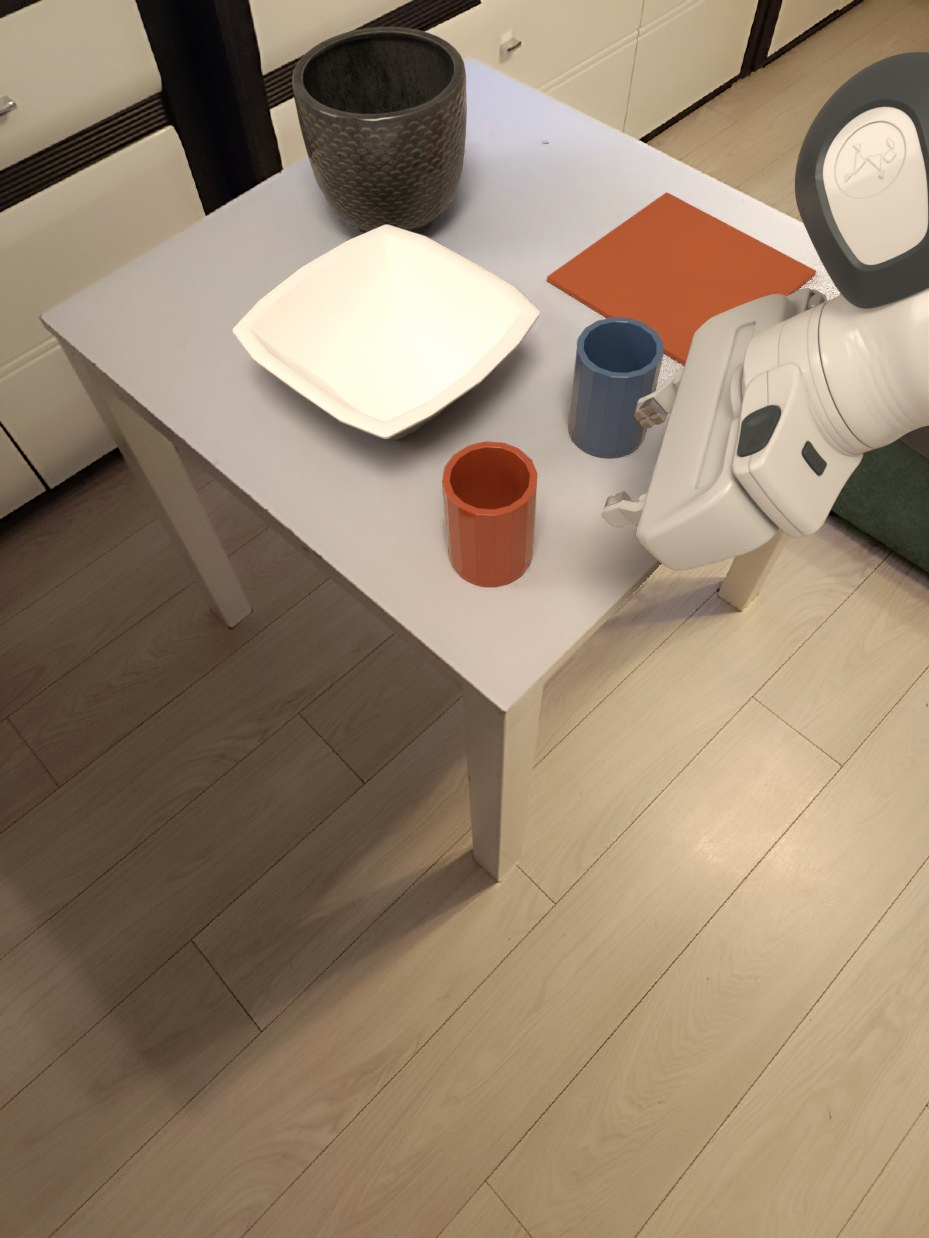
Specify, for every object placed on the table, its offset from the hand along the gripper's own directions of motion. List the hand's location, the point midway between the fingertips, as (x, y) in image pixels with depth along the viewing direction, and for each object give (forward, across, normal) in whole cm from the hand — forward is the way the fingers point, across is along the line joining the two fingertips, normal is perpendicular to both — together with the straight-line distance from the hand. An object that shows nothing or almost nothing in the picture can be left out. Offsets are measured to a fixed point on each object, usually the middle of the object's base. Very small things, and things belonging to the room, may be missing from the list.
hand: (625, 462), depth 61 cm
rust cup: (+16, +1, +3) cm, 17 cm away
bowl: (+27, -14, -8) cm, 32 cm away
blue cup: (+12, -15, +7) cm, 21 cm away
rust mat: (+11, -38, +9) cm, 41 cm away
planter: (+34, -39, -14) cm, 54 cm away
